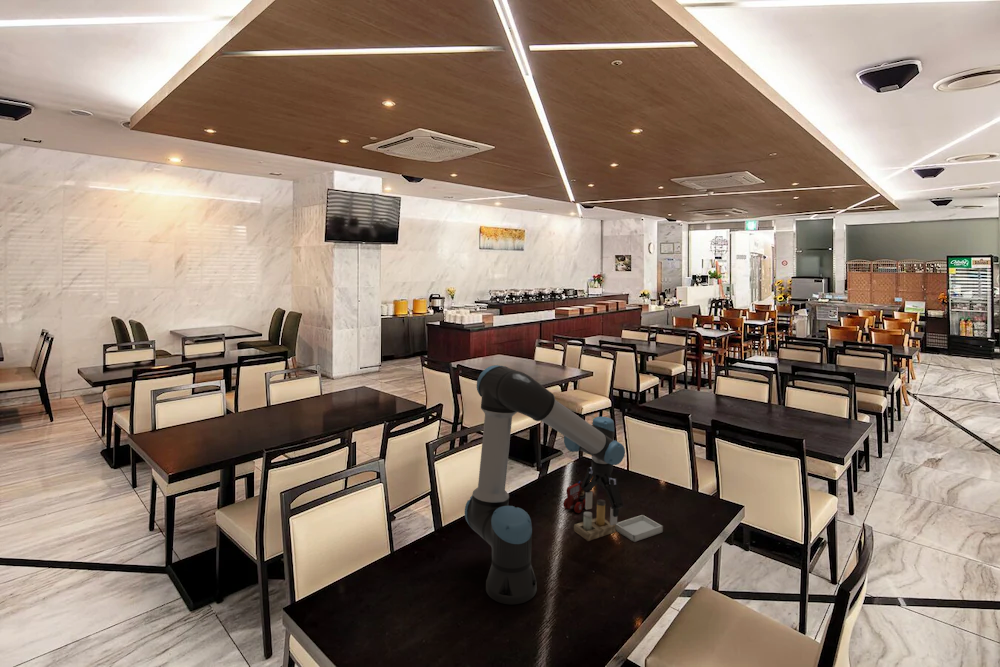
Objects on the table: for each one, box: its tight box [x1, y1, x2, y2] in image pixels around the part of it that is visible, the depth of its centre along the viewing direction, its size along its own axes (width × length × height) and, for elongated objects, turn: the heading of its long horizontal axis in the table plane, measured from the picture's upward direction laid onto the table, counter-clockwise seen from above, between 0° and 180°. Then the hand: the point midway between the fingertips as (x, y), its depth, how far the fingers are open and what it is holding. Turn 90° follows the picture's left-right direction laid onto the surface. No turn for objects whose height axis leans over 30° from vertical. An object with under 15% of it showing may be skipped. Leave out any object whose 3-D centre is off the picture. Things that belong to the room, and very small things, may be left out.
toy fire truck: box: [563, 480, 585, 514], centre depth 206 cm, size 7×12×10 cm, turn 135°
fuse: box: [583, 510, 593, 531], centre depth 186 cm, size 3×3×8 cm
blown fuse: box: [595, 499, 606, 527], centre depth 189 cm, size 3×3×11 cm
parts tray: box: [614, 514, 664, 543], centre depth 188 cm, size 14×10×2 cm
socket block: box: [573, 517, 616, 542], centre depth 188 cm, size 12×8×2 cm, turn 120°
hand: (600, 516), depth 189 cm, fingers open, 13 cm apart
